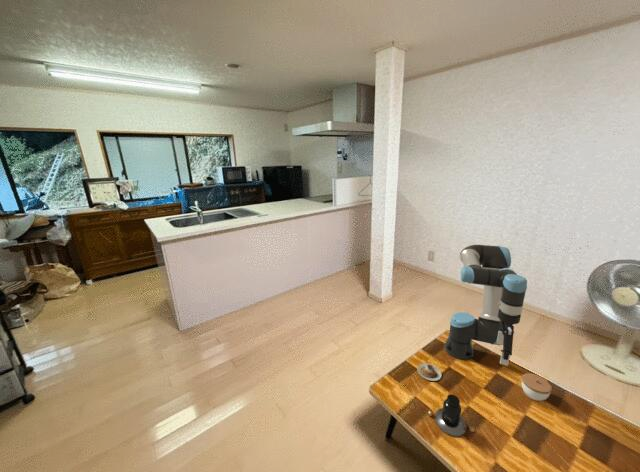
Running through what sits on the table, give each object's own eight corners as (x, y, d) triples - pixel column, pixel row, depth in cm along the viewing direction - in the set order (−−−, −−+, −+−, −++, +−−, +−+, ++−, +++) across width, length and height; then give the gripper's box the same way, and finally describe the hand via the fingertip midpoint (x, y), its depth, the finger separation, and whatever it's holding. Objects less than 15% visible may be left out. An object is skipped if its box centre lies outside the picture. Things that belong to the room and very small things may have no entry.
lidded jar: (525, 402, 119) (528, 386, 116) (515, 383, 129) (518, 368, 126) (553, 408, 116) (557, 391, 113) (541, 388, 125) (545, 372, 123)
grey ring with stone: (413, 373, 138) (413, 366, 137) (423, 361, 146) (424, 354, 145) (435, 386, 130) (436, 379, 128) (445, 373, 137) (446, 366, 136)
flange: (429, 403, 120) (429, 400, 120) (473, 419, 112) (474, 417, 112) (426, 425, 110) (426, 422, 110) (474, 445, 102) (475, 442, 102)
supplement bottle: (443, 427, 108) (446, 405, 105) (439, 412, 115) (442, 390, 112) (461, 429, 107) (464, 407, 104) (456, 414, 114) (459, 393, 110)
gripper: (496, 295, 119) (489, 334, 125) (502, 325, 98) (494, 370, 104) (516, 299, 115) (508, 339, 121) (527, 330, 94) (517, 377, 100)
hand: (501, 353), depth 113 cm, fingers open, 13 cm apart
